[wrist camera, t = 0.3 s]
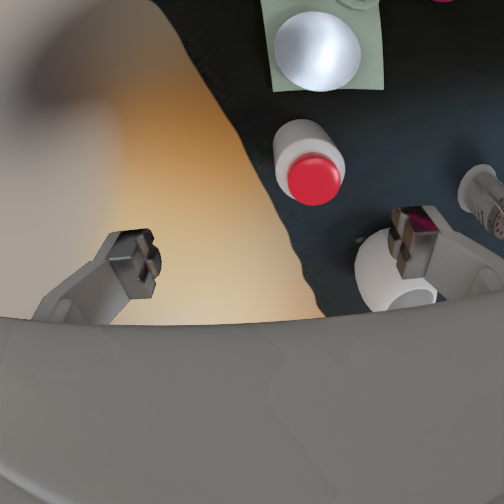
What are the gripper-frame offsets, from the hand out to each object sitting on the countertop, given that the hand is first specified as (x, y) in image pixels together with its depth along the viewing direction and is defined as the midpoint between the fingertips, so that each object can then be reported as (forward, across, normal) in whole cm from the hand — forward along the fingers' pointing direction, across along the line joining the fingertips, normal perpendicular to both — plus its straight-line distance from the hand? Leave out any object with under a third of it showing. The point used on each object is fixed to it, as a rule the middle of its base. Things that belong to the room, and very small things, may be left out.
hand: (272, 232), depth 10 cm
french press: (+30, -35, +15) cm, 49 cm away
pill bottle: (+30, -4, +8) cm, 32 cm away
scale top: (+27, -7, -7) cm, 29 cm away
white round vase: (+30, -18, +27) cm, 45 cm away
